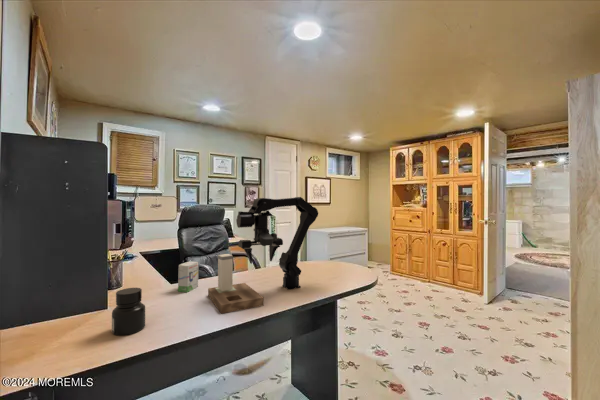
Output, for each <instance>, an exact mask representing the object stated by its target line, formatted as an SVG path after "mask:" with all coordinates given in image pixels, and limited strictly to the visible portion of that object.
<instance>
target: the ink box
mask: <svg viewBox="0 0 600 400" xmlns="http://www.w3.org/2000/svg"><path fill="white" fill-rule="evenodd" d="M177 276H178V279H177V281H178V282H177V292H178V293H189V292H191V291H192V290H194V289H196V288H198V287H199V261H186V262H184V263H183V262H182V263H180V264H178V275H177Z"/></svg>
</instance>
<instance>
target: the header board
mask: <svg viewBox="0 0 600 400" xmlns="http://www.w3.org/2000/svg"><path fill="white" fill-rule="evenodd" d="M207 295H208V297H209V299H210V300H211V301H212V303H213V304H214V305H215V307H216V309H217V310H218V311H219V312H220V315H221V314H222V315H223V314H226V313H231V312H236V311H237V312H238V311H243V310H247V309H248V310H249V309H251V308H252V309H253V308H257V307H263V306H264V297H263V296H262V295H261V294H260V293H258V292H257V291H256V290H255V289H254V288H252V287H251V286H250V285H249V284H247V283H246V282H241V283H235V284H233V289H231V290H225V291H221V290H220V289H218V286H216V287H208V288H207Z"/></svg>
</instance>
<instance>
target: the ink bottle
mask: <svg viewBox="0 0 600 400" xmlns="http://www.w3.org/2000/svg"><path fill="white" fill-rule="evenodd" d="M142 293H143V292H142V288H141V287H128V288H122V289H120V290H117V291H116V292H115V304H116V306H115V308H114V309H113V310H112V312H111V333H112V335H116V336H126V335H127V336H128V335H132V334H135V333H137V332H140V331H141V330H144V328H145V327H146V305H145V304H144V303H142V297H143V296H142Z"/></svg>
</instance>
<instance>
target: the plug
mask: <svg viewBox="0 0 600 400" xmlns="http://www.w3.org/2000/svg"><path fill="white" fill-rule="evenodd" d="M233 259H234V256H233V255H232V254H231V253H225V254H224V253H223V254H218V255H217V285H218V286H217V287H218V289H220V290H221V291H225V290H231V289H233V285H234V284H233V273H234V272H233V268H234V267H233Z"/></svg>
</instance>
